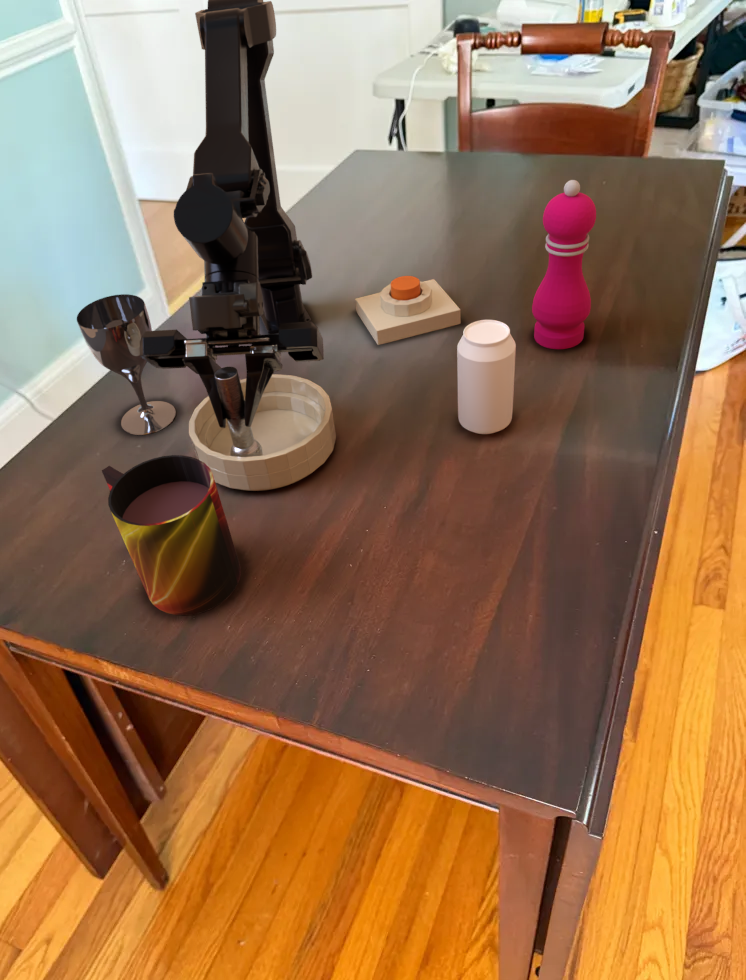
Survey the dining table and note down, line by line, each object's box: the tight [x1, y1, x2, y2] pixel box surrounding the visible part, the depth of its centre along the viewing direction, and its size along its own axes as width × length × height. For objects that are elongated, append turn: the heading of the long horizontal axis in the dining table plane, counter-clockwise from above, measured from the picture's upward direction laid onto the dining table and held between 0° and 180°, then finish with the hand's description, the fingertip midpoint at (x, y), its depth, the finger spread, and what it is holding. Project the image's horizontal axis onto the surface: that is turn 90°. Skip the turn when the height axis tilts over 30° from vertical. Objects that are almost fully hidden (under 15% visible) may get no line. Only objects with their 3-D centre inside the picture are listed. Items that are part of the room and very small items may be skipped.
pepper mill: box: [531, 179, 597, 350], centre depth 95 cm, size 7×7×20 cm
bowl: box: [188, 373, 337, 492], centre depth 91 cm, size 16×17×5 cm
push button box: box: [354, 278, 462, 346], centre depth 109 cm, size 10×12×4 cm
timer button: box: [390, 275, 421, 300], centre depth 107 cm, size 4×4×2 cm
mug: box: [101, 454, 242, 616], centre depth 75 cm, size 10×14×12 cm
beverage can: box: [456, 319, 517, 435], centre depth 87 cm, size 6×6×12 cm
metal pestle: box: [215, 366, 263, 457], centre depth 85 cm, size 4×4×12 cm
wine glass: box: [76, 293, 177, 436], centre depth 95 cm, size 8×8×15 cm
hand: (235, 427), depth 83 cm, fingers closed on metal pestle, 2 cm apart
